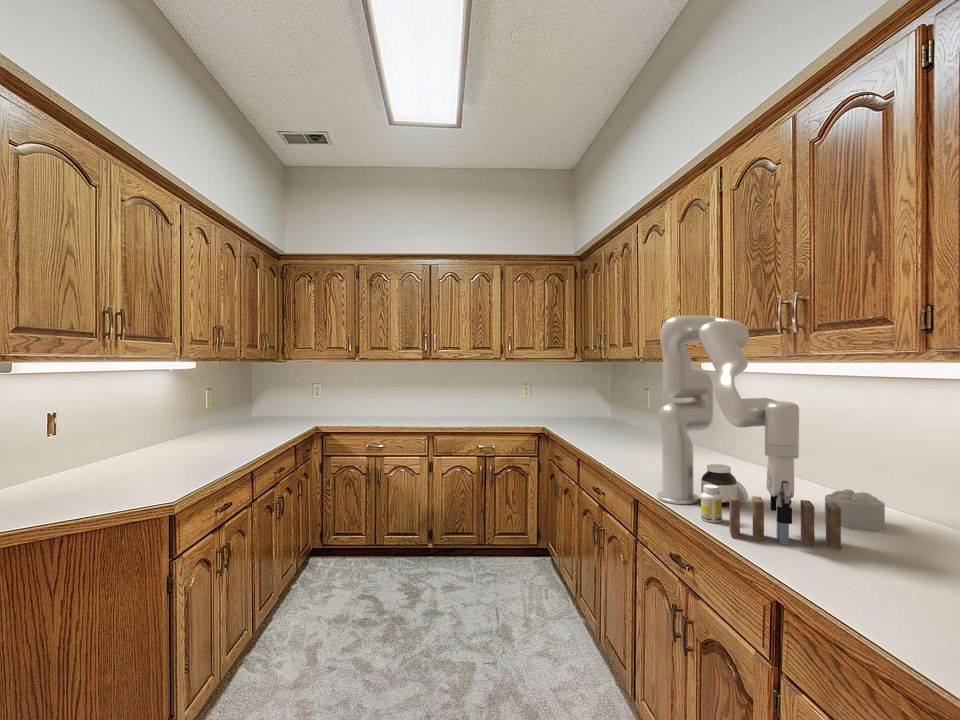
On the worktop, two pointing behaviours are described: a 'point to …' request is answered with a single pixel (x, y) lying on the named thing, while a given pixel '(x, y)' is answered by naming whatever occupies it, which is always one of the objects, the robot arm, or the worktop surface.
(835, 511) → the domino
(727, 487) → the spread jar
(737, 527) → the domino
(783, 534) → the blue domino
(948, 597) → the worktop surface
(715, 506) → the supplement bottle
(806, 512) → the domino
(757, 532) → the domino
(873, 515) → the lumpy-topped squat cylinder
